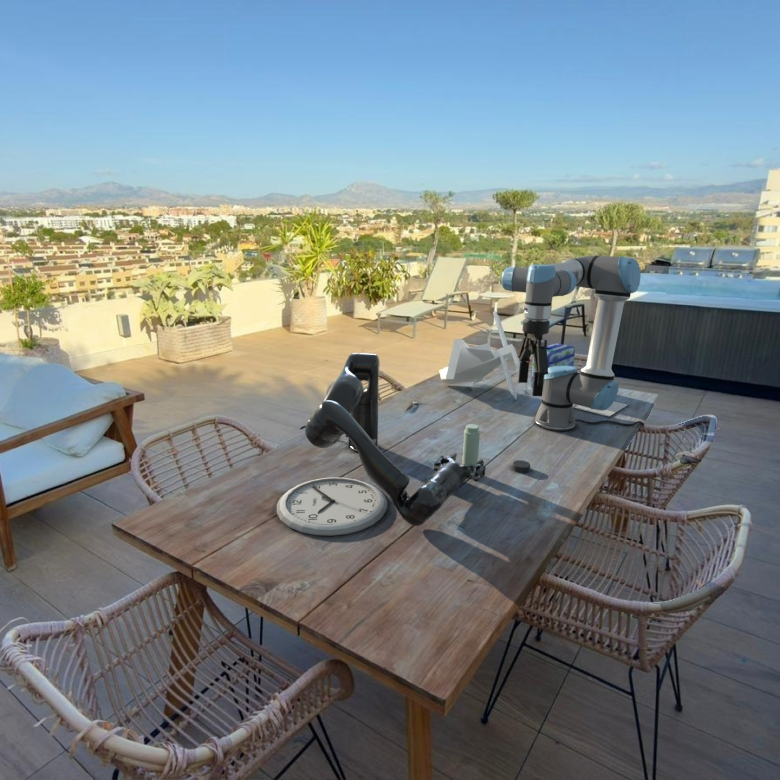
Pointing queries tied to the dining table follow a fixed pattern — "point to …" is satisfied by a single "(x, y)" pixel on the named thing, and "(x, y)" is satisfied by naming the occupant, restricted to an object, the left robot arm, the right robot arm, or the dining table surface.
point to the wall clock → (331, 506)
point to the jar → (471, 444)
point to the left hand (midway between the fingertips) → (468, 459)
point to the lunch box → (557, 357)
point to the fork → (413, 403)
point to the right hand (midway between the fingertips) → (529, 388)
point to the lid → (521, 466)
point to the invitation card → (608, 412)
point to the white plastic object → (480, 362)
